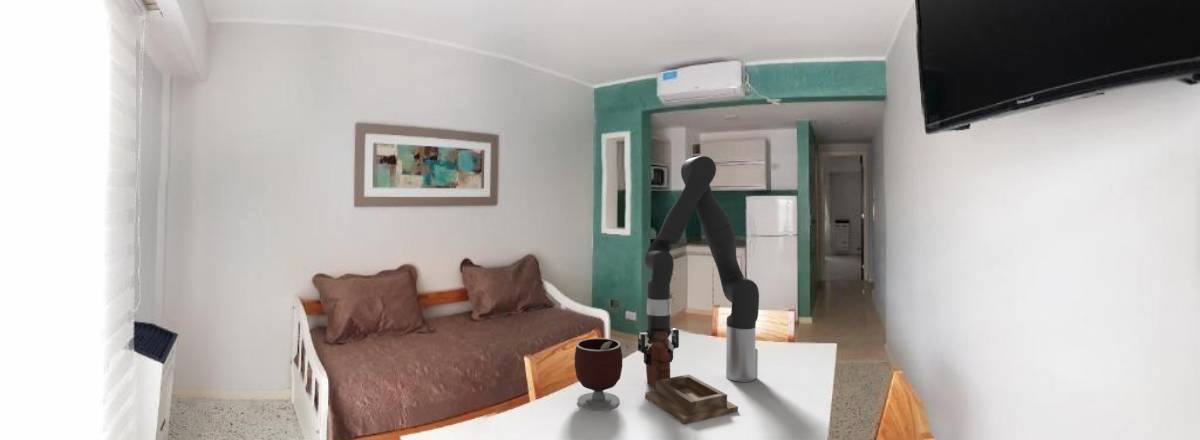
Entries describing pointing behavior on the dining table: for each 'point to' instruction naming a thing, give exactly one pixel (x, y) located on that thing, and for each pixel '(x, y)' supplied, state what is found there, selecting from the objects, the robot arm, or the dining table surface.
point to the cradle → (690, 399)
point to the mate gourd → (598, 372)
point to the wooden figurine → (658, 358)
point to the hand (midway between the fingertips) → (658, 363)
